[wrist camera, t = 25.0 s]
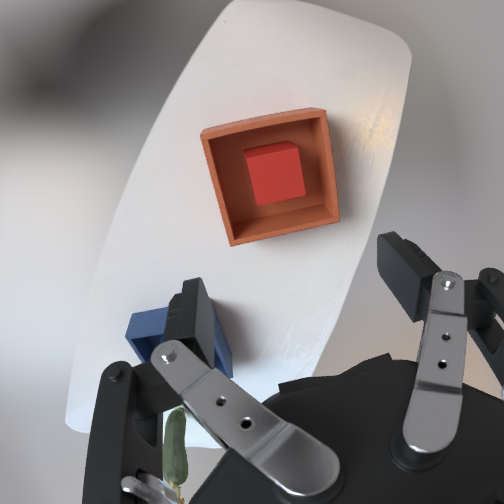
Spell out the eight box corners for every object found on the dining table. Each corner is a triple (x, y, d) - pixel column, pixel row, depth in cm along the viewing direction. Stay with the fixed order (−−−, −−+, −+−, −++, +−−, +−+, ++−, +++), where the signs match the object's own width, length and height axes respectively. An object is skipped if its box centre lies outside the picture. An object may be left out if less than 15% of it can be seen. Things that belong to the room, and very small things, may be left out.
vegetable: (162, 404, 50) (154, 501, 32) (178, 398, 49) (172, 500, 32) (178, 414, 52) (174, 507, 34) (195, 408, 51) (193, 505, 33)
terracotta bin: (203, 129, 28) (199, 135, 24) (311, 107, 28) (325, 109, 24) (229, 227, 34) (230, 247, 30) (326, 205, 34) (340, 221, 30)
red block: (243, 149, 29) (246, 158, 25) (287, 139, 29) (298, 147, 25) (252, 191, 32) (257, 206, 28) (295, 181, 31) (306, 195, 27)
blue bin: (132, 313, 39) (124, 336, 35) (209, 298, 38) (208, 321, 34) (163, 365, 44) (160, 388, 40) (231, 354, 44) (233, 377, 40)
